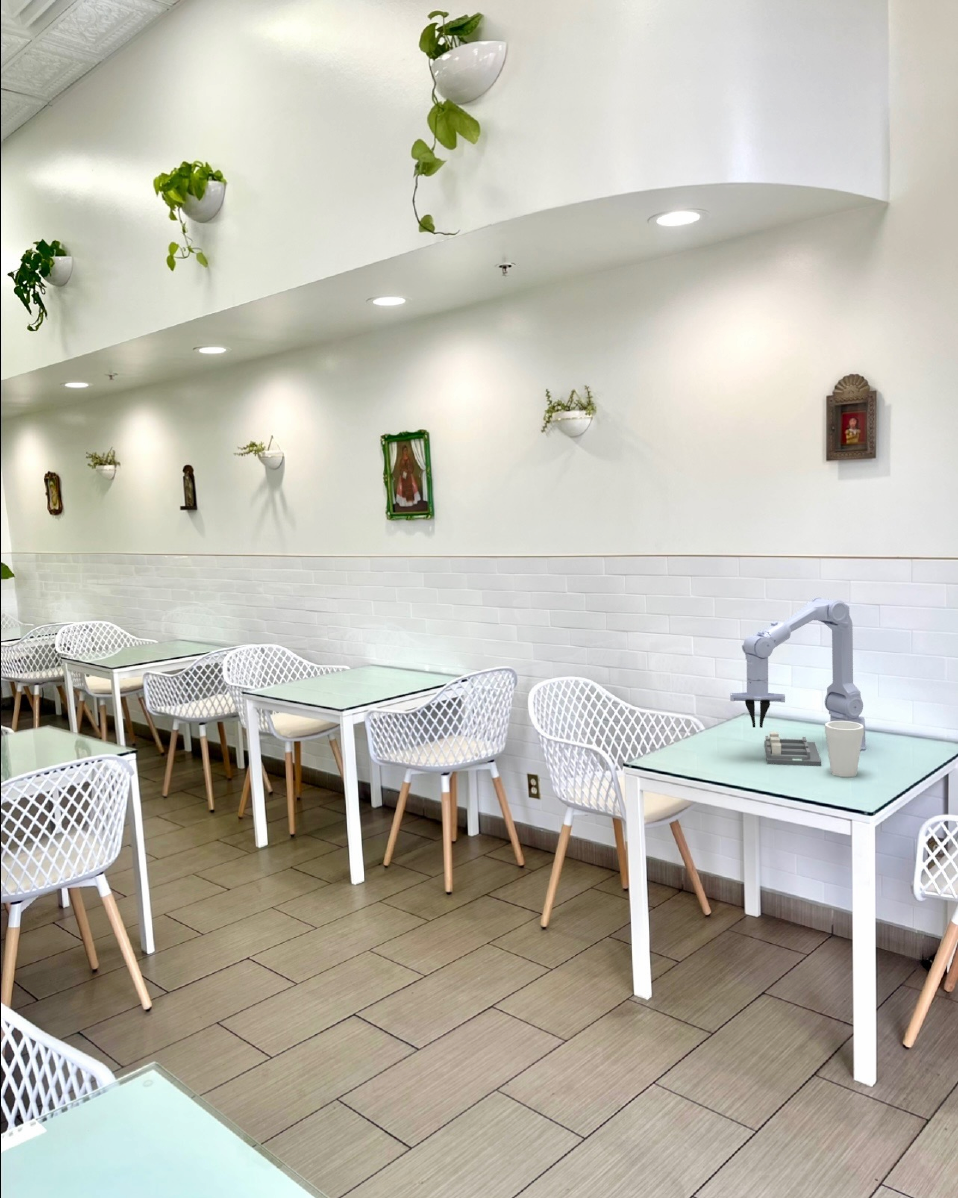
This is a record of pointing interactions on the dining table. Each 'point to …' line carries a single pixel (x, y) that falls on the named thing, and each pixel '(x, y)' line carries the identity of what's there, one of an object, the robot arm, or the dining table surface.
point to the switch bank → (794, 753)
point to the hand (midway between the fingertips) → (757, 726)
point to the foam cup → (844, 747)
